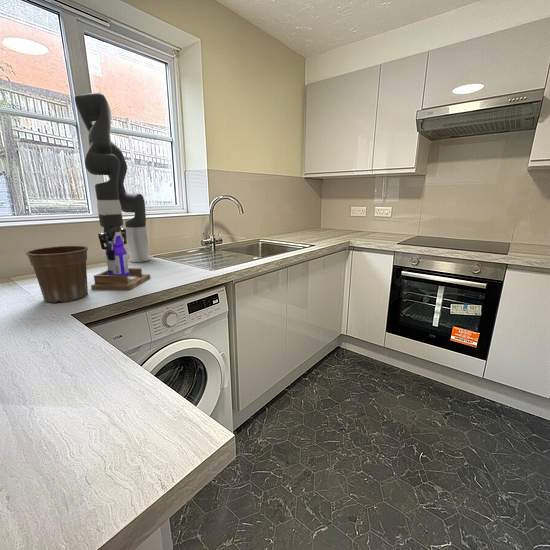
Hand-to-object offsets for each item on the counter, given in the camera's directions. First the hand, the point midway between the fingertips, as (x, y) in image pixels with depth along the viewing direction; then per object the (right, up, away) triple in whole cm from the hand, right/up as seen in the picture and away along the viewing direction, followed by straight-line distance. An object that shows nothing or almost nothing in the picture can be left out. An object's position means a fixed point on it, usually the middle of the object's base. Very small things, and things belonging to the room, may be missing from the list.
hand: (116, 258), depth 111 cm
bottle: (0, -7, +2) cm, 8 cm away
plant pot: (-10, -14, -12) cm, 21 cm away
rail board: (+1, -10, +2) cm, 10 cm away
